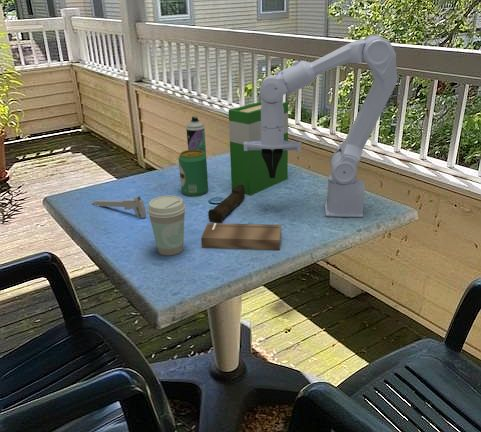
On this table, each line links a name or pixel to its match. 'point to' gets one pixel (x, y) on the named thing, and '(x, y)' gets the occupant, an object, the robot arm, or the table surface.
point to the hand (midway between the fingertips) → (272, 176)
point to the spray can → (196, 135)
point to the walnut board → (241, 236)
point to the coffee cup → (168, 223)
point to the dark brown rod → (227, 204)
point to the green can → (193, 172)
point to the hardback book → (251, 162)
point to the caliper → (126, 205)
